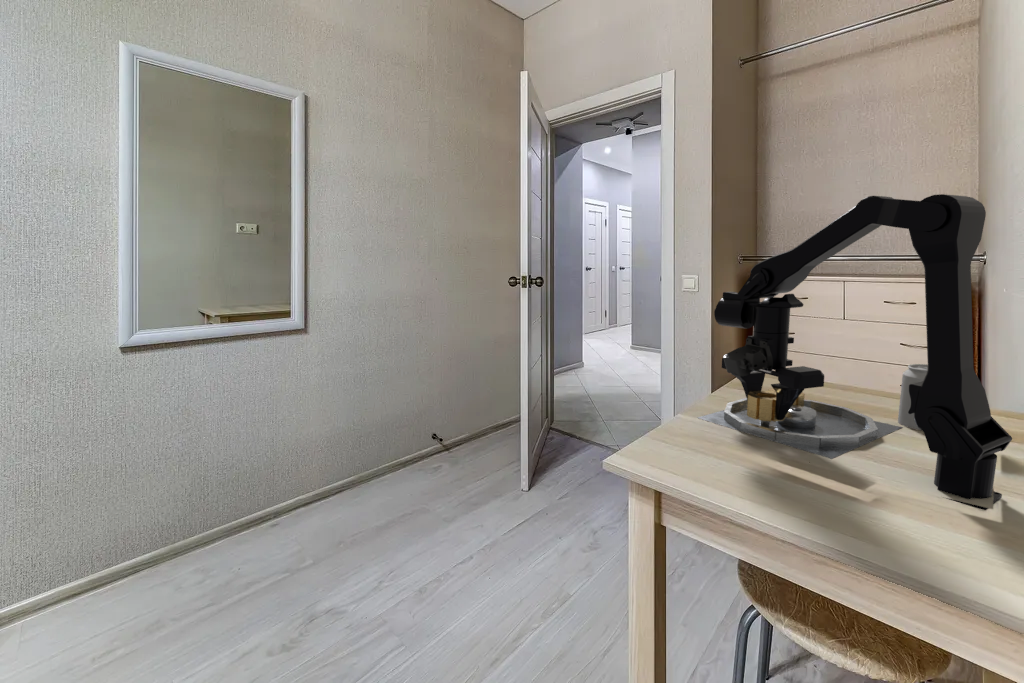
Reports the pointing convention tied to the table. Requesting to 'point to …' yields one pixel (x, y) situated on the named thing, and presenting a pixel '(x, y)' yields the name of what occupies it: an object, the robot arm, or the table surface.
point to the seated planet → (798, 401)
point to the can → (909, 377)
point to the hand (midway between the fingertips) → (765, 414)
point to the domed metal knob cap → (799, 417)
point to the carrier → (827, 438)
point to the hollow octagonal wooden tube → (762, 406)
